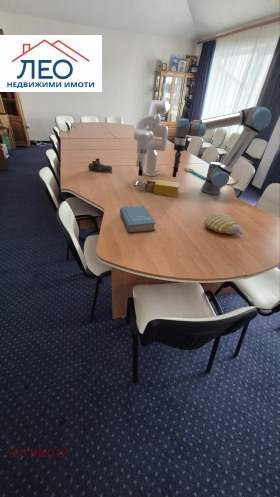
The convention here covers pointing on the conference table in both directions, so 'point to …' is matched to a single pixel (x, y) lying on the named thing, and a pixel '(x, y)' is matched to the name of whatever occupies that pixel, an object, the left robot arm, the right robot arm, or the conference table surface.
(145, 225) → the book
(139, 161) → the left robot arm
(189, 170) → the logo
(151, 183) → the drawer
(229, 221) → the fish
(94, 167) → the laser sight
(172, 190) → the cabinet
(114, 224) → the conference table surface
